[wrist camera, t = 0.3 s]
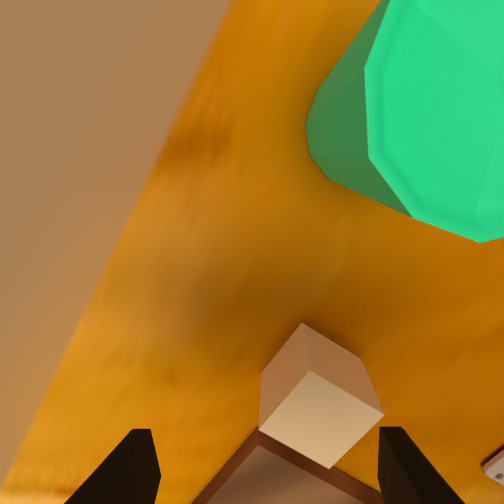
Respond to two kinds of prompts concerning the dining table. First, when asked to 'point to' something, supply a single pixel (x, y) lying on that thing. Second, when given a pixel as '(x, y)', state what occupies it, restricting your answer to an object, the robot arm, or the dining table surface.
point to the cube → (317, 397)
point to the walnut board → (281, 478)
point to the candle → (420, 114)
